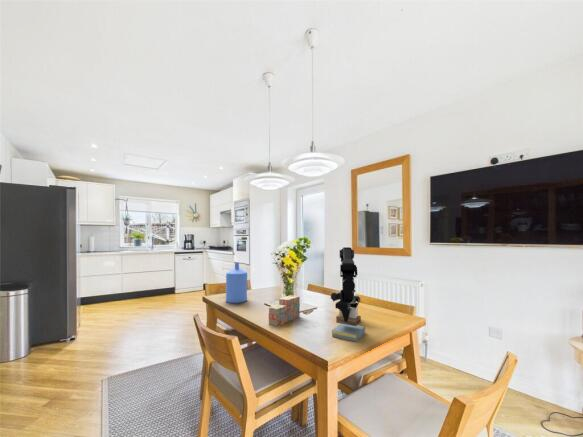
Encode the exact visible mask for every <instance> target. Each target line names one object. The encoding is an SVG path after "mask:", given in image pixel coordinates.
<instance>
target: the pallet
mask: <svg viewBox="0 0 583 437" xmlns="http://www.w3.org/2000/svg"><path fill="white" fill-rule="evenodd" d="M335 318H336V323H338V324H346V325H352V326H357V325H359V324H361V322H362V316H361V315H358V317H357V318H355V319H354V318H348V321H347V322H345V321H344V318H343V316H339V314H337V315H336V317H335Z"/></svg>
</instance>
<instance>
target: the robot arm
mask: <svg viewBox="0 0 583 437" xmlns="http://www.w3.org/2000/svg"><path fill="white" fill-rule="evenodd" d="M339 259H340V261H341V264H339V268H340V270H339V273H340V278H341V279H342V281H341V282H342V283H341V284H342V285H341V286H342V287H341V288H342V289H341V290H340V292H332V293H331V295H330V299H331V300H332V302H336V301H337V302H336V303H335V309H338V310H339V309H340V310H341V312H342V315H343V318H344V321H345V322H347V321H348V318H349V314H350V311H351V308H350V307H353V308H358V307H359V306H358V305H359V304H360V303H361V297H360V296H359V295H355V293H356V283H355V278H357V276H358V267H357V265H356V264H355V260H354V259H355V250H354V249H352V247H350V246H349V247H347V246H346V247H342V248H341V249H339Z"/></svg>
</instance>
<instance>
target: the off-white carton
mask: <svg viewBox="0 0 583 437" xmlns="http://www.w3.org/2000/svg"><path fill="white" fill-rule="evenodd" d="M350 308H351V311H350V314H349V318H354V319H355V318H357V317H358V316H359V314H358V313H359V312H358V307H357V308H353V307H350Z"/></svg>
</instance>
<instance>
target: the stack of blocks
mask: <svg viewBox="0 0 583 437" xmlns="http://www.w3.org/2000/svg"><path fill="white" fill-rule="evenodd" d="M300 303H301V302H300V296H298V295H293V294H292V295H287V296H283V297H280V298H279V300H278V304H274V305H272V306H269V307H268V325H270V326H275V327H279V326H280V325H284V324H286V323H288V322H290V321H292V320H293V321H294V320H295V319H298V318H299V317H300V310H301V309H300V308H301V306H300V305H301V304H300Z"/></svg>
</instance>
